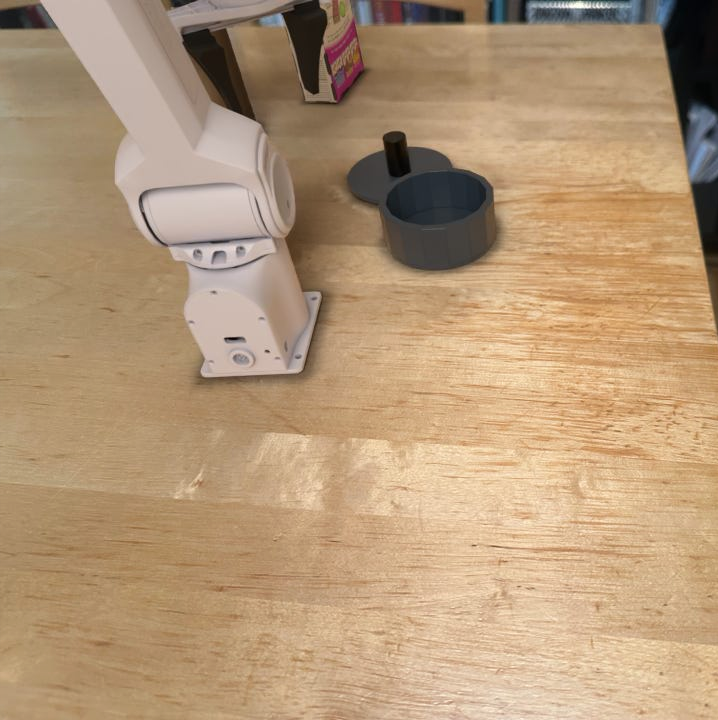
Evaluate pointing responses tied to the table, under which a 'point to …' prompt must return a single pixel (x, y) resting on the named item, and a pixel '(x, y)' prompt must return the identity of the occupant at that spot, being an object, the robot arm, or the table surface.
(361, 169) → the lid
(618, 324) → the table surface
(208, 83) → the pillar candle
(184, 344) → the table surface
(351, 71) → the candy bar box
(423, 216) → the pot
